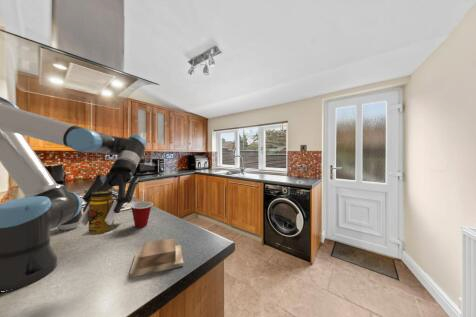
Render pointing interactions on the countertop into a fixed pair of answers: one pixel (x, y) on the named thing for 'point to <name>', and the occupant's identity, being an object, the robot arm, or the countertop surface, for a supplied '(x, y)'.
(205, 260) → the countertop surface
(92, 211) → the condiment
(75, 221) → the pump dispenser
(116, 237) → the countertop surface
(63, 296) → the countertop surface
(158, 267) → the base board
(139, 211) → the plastic cup
